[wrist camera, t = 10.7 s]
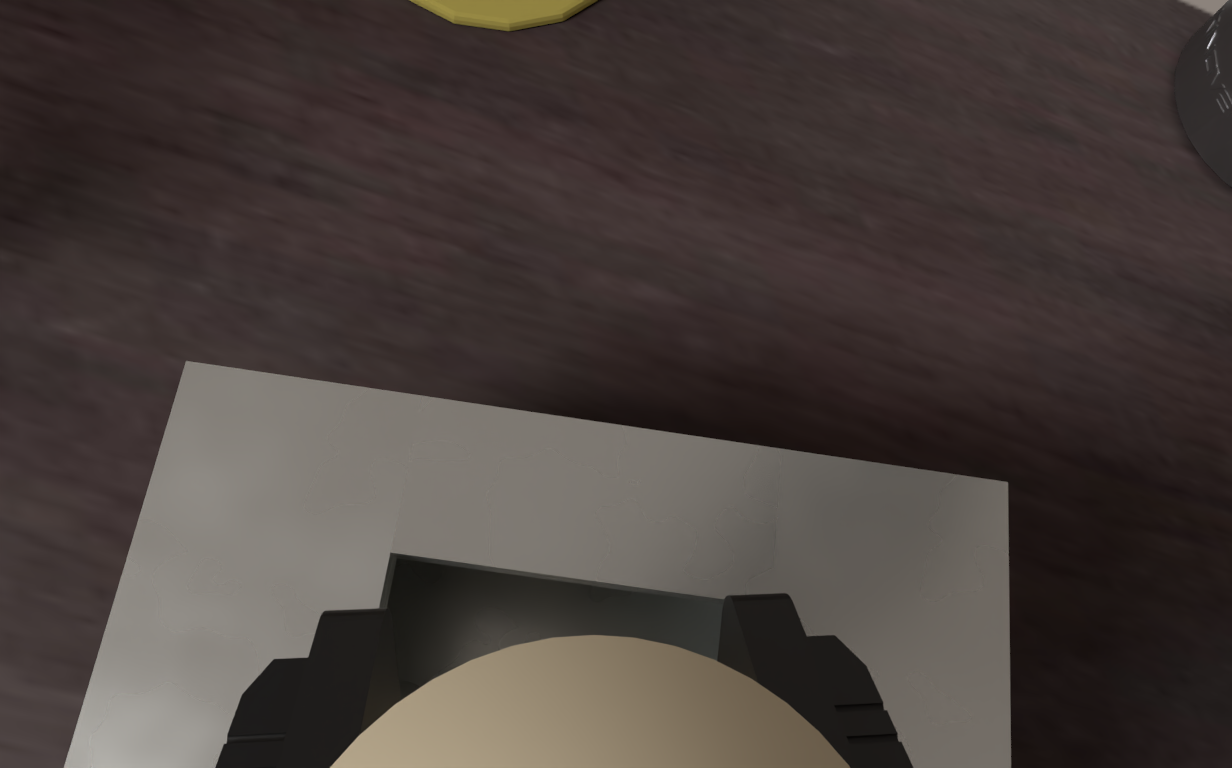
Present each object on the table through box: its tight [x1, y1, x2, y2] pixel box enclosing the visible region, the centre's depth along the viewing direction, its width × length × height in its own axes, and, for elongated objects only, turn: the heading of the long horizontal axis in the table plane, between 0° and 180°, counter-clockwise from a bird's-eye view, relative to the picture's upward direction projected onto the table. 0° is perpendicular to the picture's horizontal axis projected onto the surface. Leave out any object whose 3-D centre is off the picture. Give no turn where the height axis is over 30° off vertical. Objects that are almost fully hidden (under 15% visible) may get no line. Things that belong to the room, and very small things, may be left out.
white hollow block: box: [64, 361, 1011, 768], centre depth 20 cm, size 16×13×10 cm
